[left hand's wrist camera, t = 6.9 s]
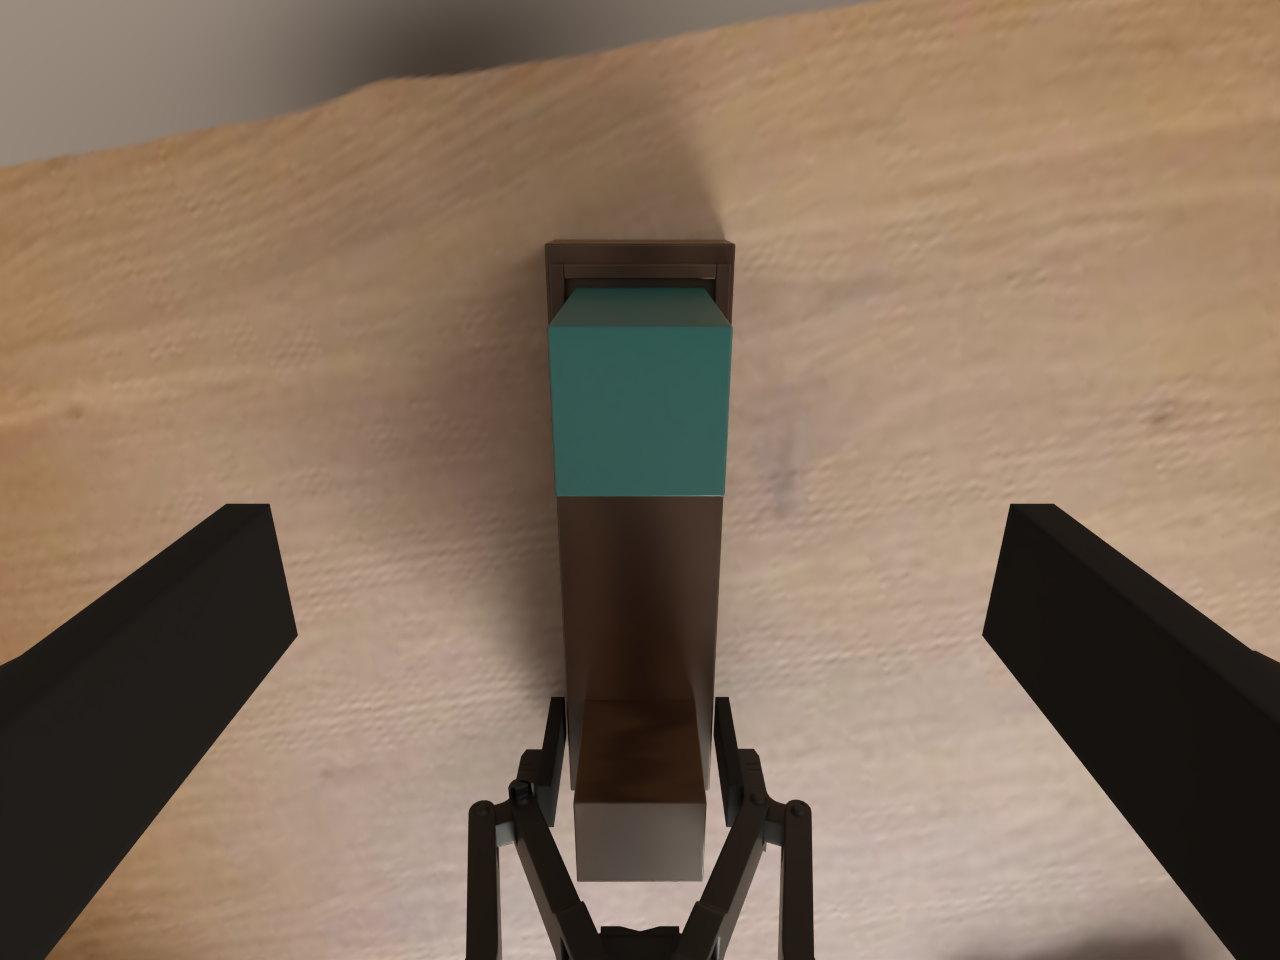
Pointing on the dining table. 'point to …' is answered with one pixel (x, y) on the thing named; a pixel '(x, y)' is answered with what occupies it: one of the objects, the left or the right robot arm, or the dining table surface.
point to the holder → (639, 618)
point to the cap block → (639, 392)
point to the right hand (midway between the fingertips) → (640, 716)
